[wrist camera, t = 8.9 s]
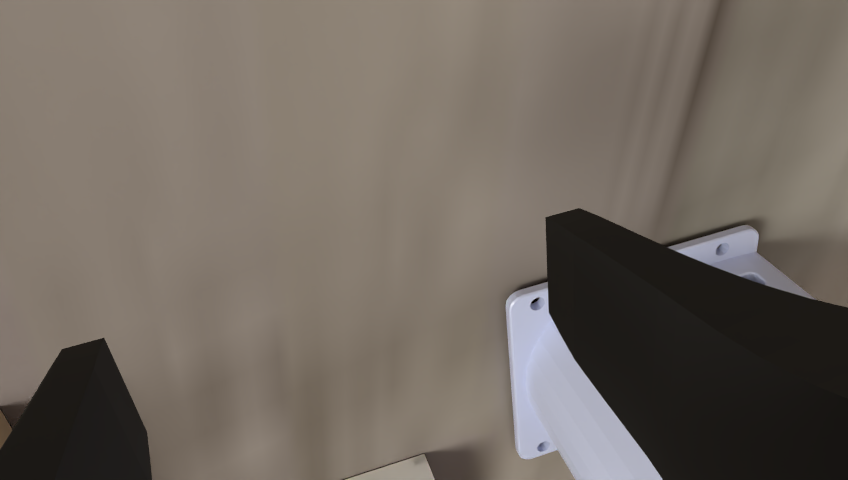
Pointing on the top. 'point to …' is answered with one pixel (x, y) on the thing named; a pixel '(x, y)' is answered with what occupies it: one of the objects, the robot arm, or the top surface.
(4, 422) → the block
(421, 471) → the tray
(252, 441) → the top surface
